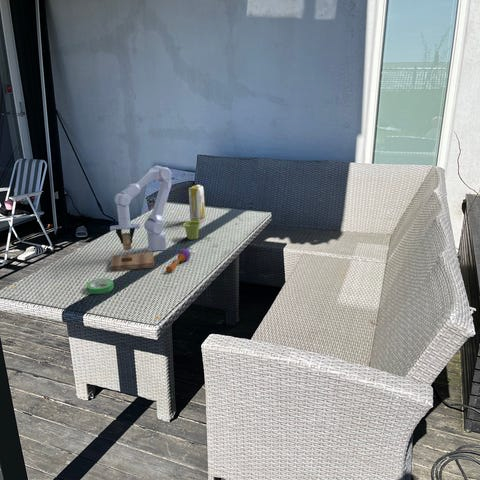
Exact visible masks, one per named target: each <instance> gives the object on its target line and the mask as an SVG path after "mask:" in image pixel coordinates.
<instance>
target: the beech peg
mask: <svg viewBox="0 0 480 480" xmlns="http://www.w3.org/2000/svg"><path fill="white" fill-rule="evenodd" d="M122 240H123V244H122V247H123V250H124V251H130V250H132V243H131V240H130V232H124V233H123V232H122Z"/></svg>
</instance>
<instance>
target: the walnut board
mask: <svg viewBox="0 0 480 480" xmlns="http://www.w3.org/2000/svg"><path fill="white" fill-rule="evenodd" d="M154 254H155V253H154V252H147V253H145V252H144V253H132V254H120V255H112V257H111V258H112V259H111V263H110V271H111V272H117V271H126V270H129V271H130V270H141V269H151V268H152V269H153V268H155V257H154V256H155V255H154Z"/></svg>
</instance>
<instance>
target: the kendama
mask: <svg viewBox="0 0 480 480" xmlns="http://www.w3.org/2000/svg"><path fill="white" fill-rule="evenodd" d="M190 257H191V252H190V250H189V249H187V248H181V249H180V250H179V251H178V254H177V259H176V260H175V261H174V262H172V263H171V264H169V265H168V266H166V268H165V270H166V272H167V273H171V274H172V272H174V270H175V268H176V267H177V266H178V264H179V262H184V261H185V262H186V261H188V260H189V259H190Z"/></svg>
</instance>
